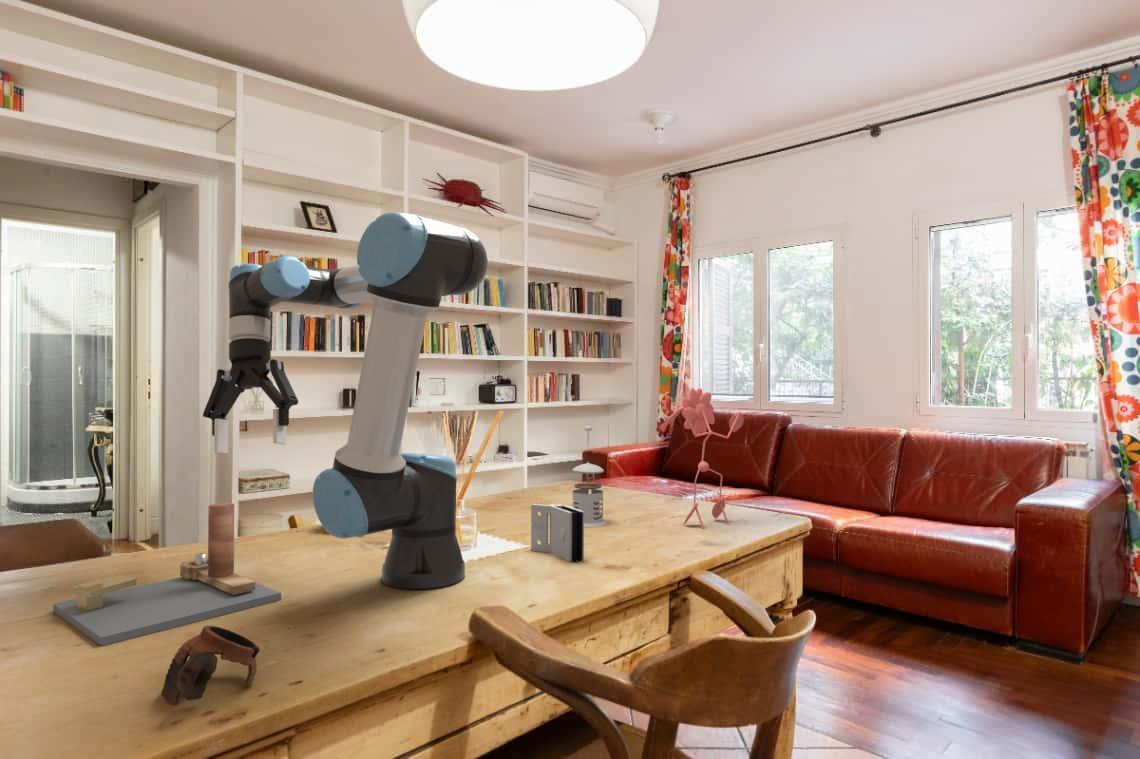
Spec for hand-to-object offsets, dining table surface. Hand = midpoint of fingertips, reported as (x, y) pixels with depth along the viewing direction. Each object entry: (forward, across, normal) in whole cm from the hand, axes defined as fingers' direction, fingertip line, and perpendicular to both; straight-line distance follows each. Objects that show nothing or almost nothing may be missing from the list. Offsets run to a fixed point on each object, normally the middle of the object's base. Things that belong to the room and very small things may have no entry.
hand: (250, 448), depth 133 cm
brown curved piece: (+36, -27, +38) cm, 59 cm away
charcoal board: (+27, +2, +16) cm, 31 cm away
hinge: (+26, -49, -34) cm, 65 cm away
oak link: (+24, 0, +8) cm, 25 cm away
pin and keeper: (+25, +7, +15) cm, 30 cm away
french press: (+20, -47, -67) cm, 84 cm away
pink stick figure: (+23, -74, -76) cm, 108 cm away
